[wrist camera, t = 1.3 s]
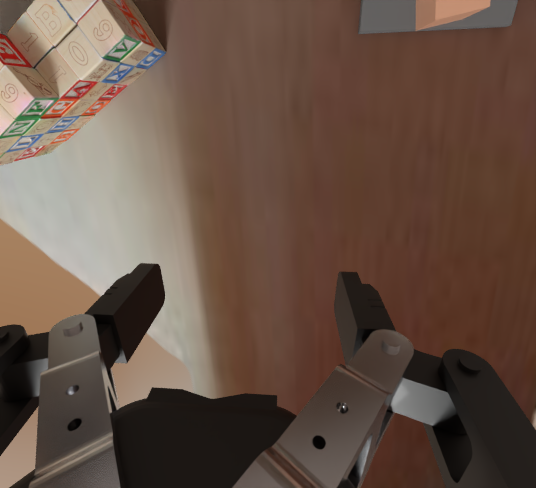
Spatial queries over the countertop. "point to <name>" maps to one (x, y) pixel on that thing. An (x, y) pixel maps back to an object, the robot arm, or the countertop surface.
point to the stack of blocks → (67, 69)
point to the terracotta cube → (446, 11)
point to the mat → (404, 20)
